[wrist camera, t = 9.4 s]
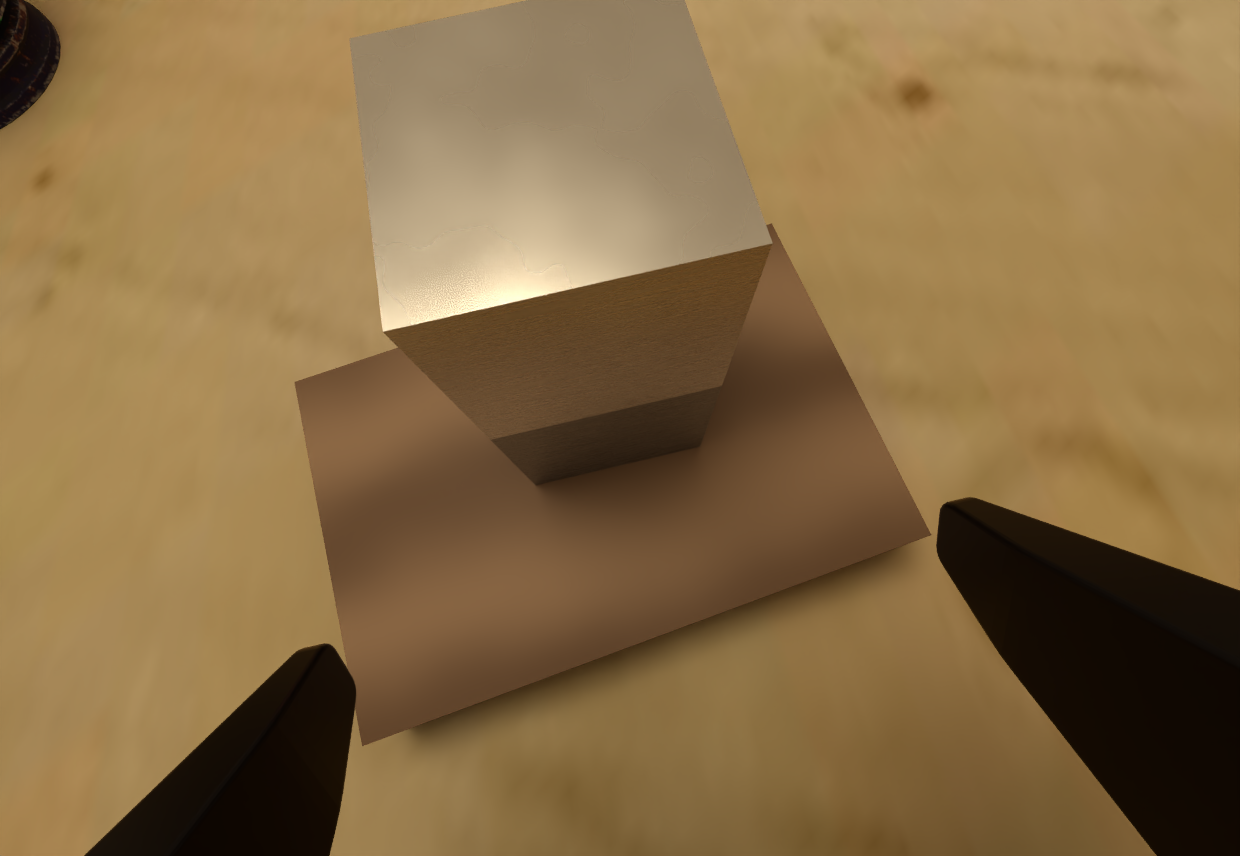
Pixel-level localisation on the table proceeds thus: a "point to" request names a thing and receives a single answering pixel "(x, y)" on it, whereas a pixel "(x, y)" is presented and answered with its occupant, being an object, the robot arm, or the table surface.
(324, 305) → the table surface
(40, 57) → the dark ridged cylinder
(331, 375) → the stand
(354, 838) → the table surface
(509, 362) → the block
